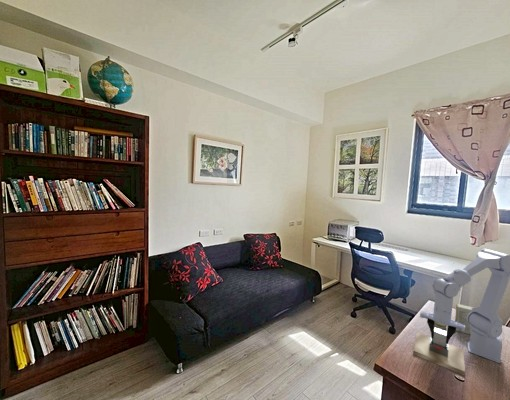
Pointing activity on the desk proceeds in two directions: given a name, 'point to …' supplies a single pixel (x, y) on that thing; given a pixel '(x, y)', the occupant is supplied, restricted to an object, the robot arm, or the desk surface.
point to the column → (439, 337)
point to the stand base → (451, 362)
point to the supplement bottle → (440, 325)
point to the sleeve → (438, 348)
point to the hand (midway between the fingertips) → (439, 339)
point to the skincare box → (463, 317)
